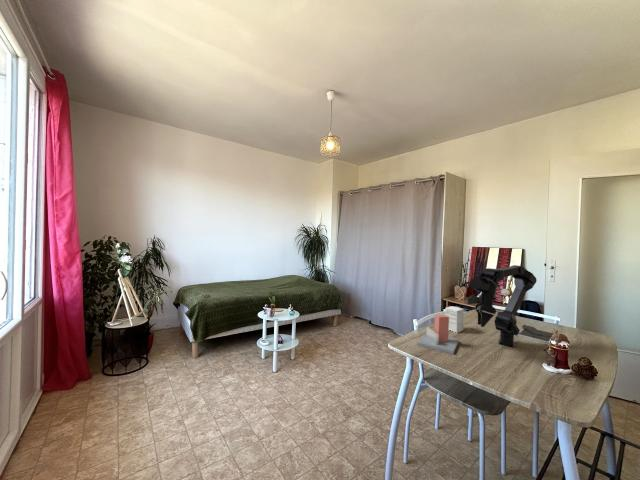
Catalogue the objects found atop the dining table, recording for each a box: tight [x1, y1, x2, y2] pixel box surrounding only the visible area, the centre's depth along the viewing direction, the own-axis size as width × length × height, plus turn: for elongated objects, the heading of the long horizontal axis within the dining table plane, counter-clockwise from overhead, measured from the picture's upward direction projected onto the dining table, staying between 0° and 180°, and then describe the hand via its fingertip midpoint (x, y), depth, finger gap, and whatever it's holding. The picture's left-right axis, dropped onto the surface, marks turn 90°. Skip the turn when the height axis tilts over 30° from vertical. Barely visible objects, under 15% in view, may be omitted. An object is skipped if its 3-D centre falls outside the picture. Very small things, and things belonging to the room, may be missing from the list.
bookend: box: [426, 326, 439, 345], centre depth 134 cm, size 10×1×5 cm, turn 3°
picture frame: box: [514, 324, 555, 346], centre depth 147 cm, size 16×3×21 cm
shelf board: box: [416, 331, 460, 355], centre depth 134 cm, size 18×16×2 cm
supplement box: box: [444, 305, 465, 334], centre depth 154 cm, size 7×7×13 cm
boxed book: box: [434, 314, 449, 342], centre depth 134 cm, size 5×4×12 cm
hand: (480, 325), depth 129 cm, fingers open, 9 cm apart
